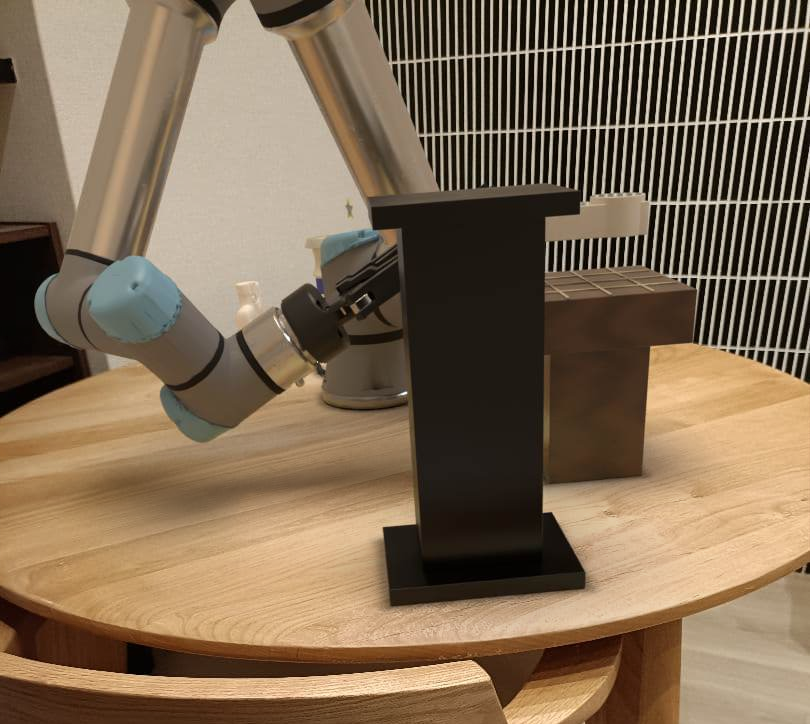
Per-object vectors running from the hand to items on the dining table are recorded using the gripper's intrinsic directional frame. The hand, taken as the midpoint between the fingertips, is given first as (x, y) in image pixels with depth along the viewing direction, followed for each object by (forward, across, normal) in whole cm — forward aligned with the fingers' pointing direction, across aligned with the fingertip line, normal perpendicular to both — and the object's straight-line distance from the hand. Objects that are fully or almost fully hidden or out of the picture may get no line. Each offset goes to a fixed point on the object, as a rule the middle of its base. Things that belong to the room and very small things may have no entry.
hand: (496, 197), depth 78 cm
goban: (-6, 0, -29) cm, 30 cm away
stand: (-19, +21, -22) cm, 36 cm away
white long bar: (0, 0, -5) cm, 5 cm away
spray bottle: (-30, -66, -15) cm, 74 cm away
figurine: (-41, -51, -9) cm, 66 cm away
